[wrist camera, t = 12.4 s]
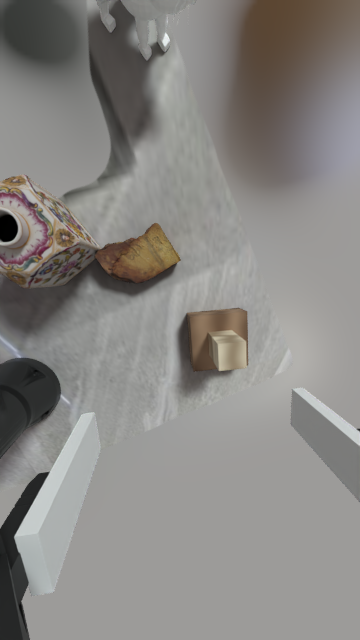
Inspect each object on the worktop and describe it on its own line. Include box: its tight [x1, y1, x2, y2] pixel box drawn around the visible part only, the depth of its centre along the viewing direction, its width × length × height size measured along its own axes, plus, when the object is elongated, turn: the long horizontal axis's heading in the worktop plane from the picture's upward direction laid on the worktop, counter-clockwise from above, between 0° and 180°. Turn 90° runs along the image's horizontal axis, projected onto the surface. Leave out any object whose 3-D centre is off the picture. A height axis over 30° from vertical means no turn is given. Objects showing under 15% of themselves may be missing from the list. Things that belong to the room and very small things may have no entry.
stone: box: [95, 223, 180, 283], centre depth 44 cm, size 15×9×5 cm, turn 113°
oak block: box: [208, 330, 247, 371], centre depth 42 cm, size 5×5×8 cm
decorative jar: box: [0, 175, 102, 289], centre depth 36 cm, size 12×12×18 cm
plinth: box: [187, 308, 248, 372], centre depth 48 cm, size 12×12×5 cm
